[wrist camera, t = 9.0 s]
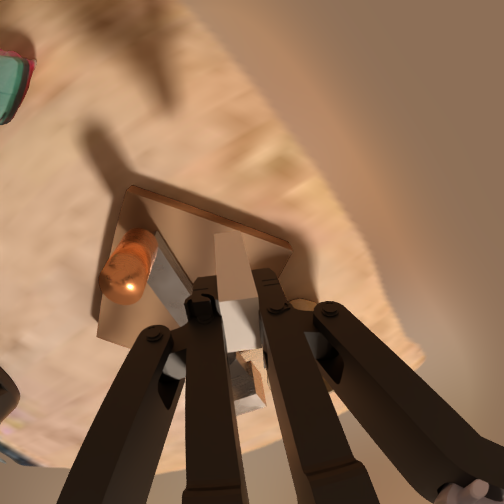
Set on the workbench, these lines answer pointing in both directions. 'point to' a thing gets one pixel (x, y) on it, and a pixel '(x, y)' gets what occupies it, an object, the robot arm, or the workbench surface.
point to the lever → (169, 300)
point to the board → (178, 257)
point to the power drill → (13, 83)
